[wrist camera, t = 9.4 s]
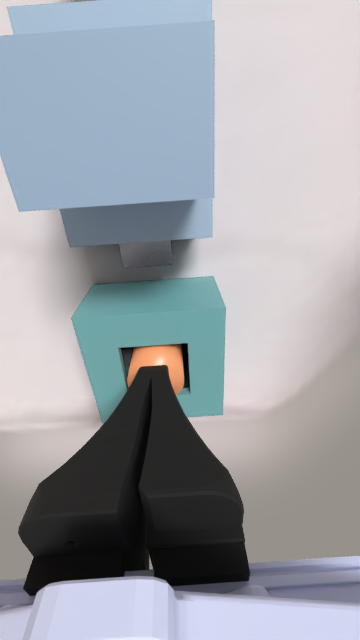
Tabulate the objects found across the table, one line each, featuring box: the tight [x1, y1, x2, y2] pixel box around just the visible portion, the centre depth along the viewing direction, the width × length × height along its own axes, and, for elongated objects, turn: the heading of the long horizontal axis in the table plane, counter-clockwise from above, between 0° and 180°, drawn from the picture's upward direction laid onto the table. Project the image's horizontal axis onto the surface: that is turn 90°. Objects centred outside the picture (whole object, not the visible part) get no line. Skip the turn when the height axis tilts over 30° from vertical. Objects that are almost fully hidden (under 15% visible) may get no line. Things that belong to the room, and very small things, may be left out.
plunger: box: [127, 343, 184, 395], centre depth 15 cm, size 3×3×4 cm
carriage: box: [0, 0, 214, 247], centre depth 9 cm, size 6×7×7 cm
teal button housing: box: [71, 276, 226, 423], centre depth 16 cm, size 7×7×4 cm
